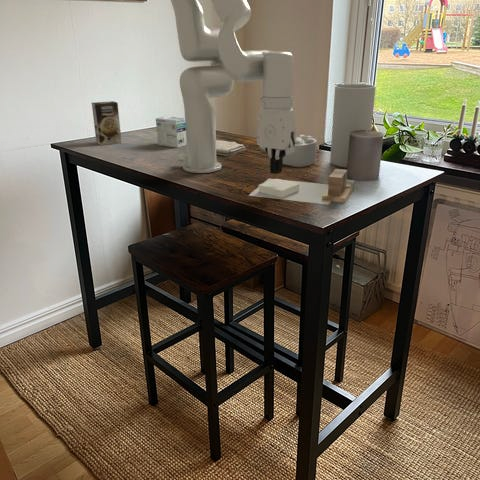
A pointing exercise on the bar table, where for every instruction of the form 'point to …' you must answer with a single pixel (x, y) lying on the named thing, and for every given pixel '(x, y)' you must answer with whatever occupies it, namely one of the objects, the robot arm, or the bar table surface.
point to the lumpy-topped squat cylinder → (302, 152)
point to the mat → (301, 193)
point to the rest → (338, 198)
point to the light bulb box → (171, 131)
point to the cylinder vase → (350, 117)
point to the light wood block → (338, 182)
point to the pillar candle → (364, 155)
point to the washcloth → (228, 148)
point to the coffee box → (106, 122)
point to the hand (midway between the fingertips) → (276, 172)
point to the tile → (278, 188)
